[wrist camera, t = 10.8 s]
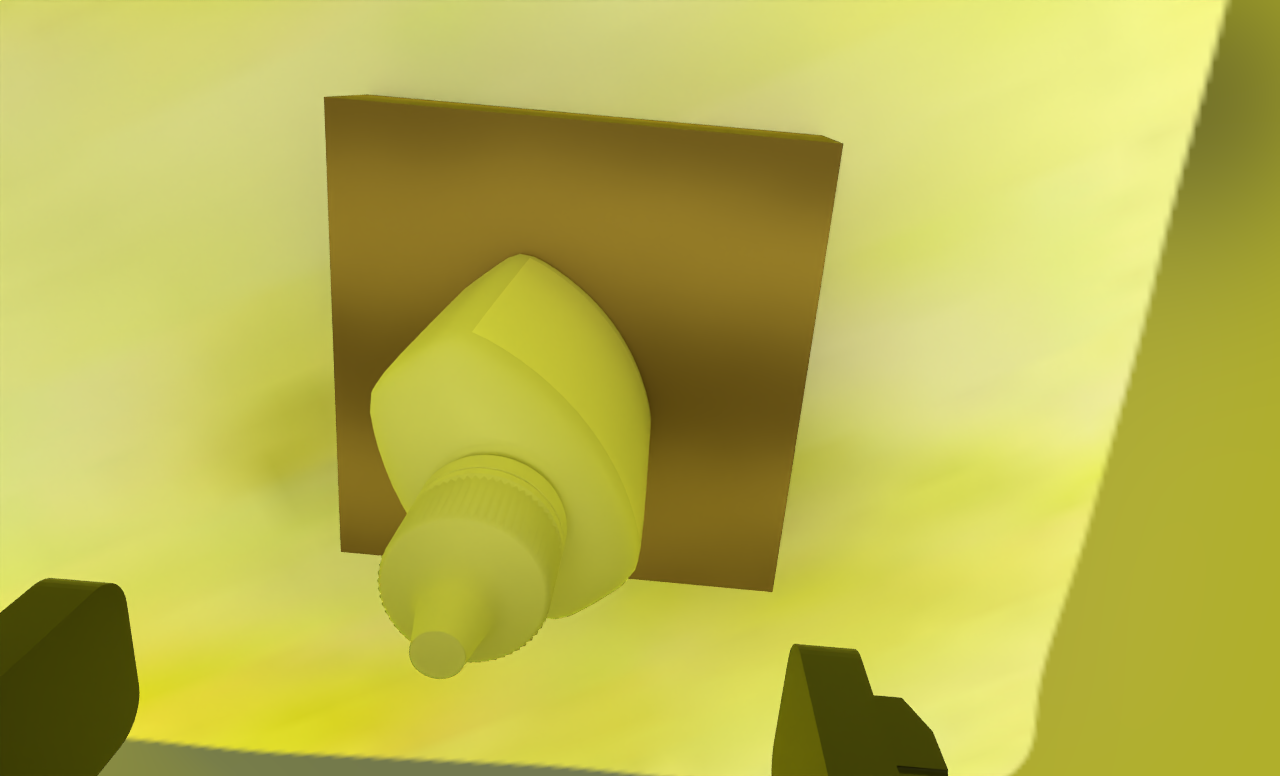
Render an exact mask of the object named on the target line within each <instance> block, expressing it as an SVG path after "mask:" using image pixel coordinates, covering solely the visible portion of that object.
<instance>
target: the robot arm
mask: <svg viewBox="0 0 1280 776" xmlns="http://www.w3.org/2000/svg"><path fill="white" fill-rule="evenodd" d="M138 703H139V683H138V676H137V669H136V662H135V656H134V649H133V642H132V635H131V629H130V622H129V615H128V608H127V602H126V597H125V595H124V592H123V591H122V589H121V588H120V587H119V586H118V585H116V584H113V583H102V582H90V581H79V580H67V579H55V578H48V579H44V580H42V581H39V582H38V583H36V584H35V585H34V586H32V587H31V588H30V589H29V590H27V591H26V592H25V593H24V594H23V595H21V596H20V597H19V598H18V599H16V600H15V601H14V602H13V603H12V604H10V605H9V606H8V607H7V608H6V609H4V610H3V611H2V612H1V613H0V776H97V775H98V774H99V773H100V771H101V770H102V769H103V768H104V766H105V765H106V764H107V763H108V762H109V760H110V759H111V758H112V757H113V755H114V754H115V753H116V752H117V750H118V749H119V748H120V747H121V745H122V744H123V743H124V741H125V739H126V738H127V736H128V734H129V732H130V730H131V728H132V725H133V723H134V720H135V717H136V713H137V709H138ZM772 776H948V769H947V766H946V764H945V761H944V759H943V756H942V754H941V751H940V749H939V746H938V744H937V741H936V739H935V736H934V734H933V732H932V730H931V729H930V728H929V727H928V726H927V725H926V724H925V723H924V722H923V721H922V719H921V718H920V717H919V716H918V715H917V714H916V713H915V712H914V711H913V710H912V708H911V707H910V706H909V705H908V704H907V703H906V702H905V701H904V700H903V699H902V698H897V697H886V696H874V695H873V693H872V690H871V686H870V683H869V680H868V677H867V674H866V671H865V668H864V665H863V662H862V659H861V657H860V654H859V652H858V651H857V650H856V649H847V648H835V647H824V646H812V645H800V644H794V645H793V646H792V648H791V650H790V654H789V658H788V664H787V669H786V675H785V681H784V687H783V693H782V699H781V704H780V710H779V716H778V722H777V728H776V734H775V739H774V746H773V755H772Z"/></svg>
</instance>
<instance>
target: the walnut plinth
mask: <svg viewBox="0 0 1280 776" xmlns="http://www.w3.org/2000/svg"><path fill="white" fill-rule="evenodd" d="M324 108H325V135H326V162H327V189H328V216H329V243H330V270H331V297H332V324H333V351H334V378H335V405H336V432H337V459H338V486H339V513H340V540H341V552H349V553H360V554H371V555H381V556H383V554H384V552H385V549H386V547H387V546H388V544H389V542H390V541H391V539H392V537H393V536H394V534H395V532H396V531H397V529H398V528H399V526H400V524H401V523H402V521H403V519H404V518H405V516H406V515H407V513H406V511H405V509H404V508H403V506H402V504H401V502H400V500H399V498H398V496H397V494H396V492H395V490H394V488H393V486H392V484H391V481H390V479H389V476H388V474H387V472H386V469H385V466H384V463H383V461H382V458H381V455H380V452H379V449H378V445H377V442H376V438H375V434H374V430H373V425H372V420H371V415H370V404H371V392H372V390H373V388H374V387H375V385H376V383H377V382H378V380H379V379H380V378H381V376H382V375H383V373H384V372H385V371H386V370H387V369H388V368H389V366H390V365H391V364H392V363H393V362H394V361H395V360H396V359H397V357H398V356H399V355H400V354H401V353H402V352H403V351H404V350H405V349H406V348H407V347H408V346H409V345H410V344H411V343H412V342H413V341H414V340H415V339H416V338H417V337H418V335H419V334H420V333H421V332H422V331H423V330H424V329H425V328H426V327H427V326H428V325H429V324H430V323H431V322H432V321H433V320H434V319H435V318H436V317H437V316H438V315H439V314H440V313H441V312H442V311H443V310H444V309H445V308H446V307H447V306H448V305H449V304H450V303H451V302H452V301H453V300H454V299H455V298H456V297H457V296H458V295H459V294H460V293H461V292H462V291H463V290H464V289H465V288H466V287H468V286H469V285H470V284H472V283H473V282H474V281H475V280H477V279H478V278H480V277H481V276H482V275H484V274H485V273H487V272H488V271H489V270H491V269H492V268H494V267H495V266H496V265H498V264H499V263H501V262H502V261H504V260H505V259H507V258H509V257H512V256H515V255H518V254H524V255H529V256H534V257H536V258H538V259H540V260H542V261H543V262H545V263H547V264H549V265H550V266H552V267H553V268H555V269H556V270H558V271H559V272H561V273H562V274H563V275H565V276H566V277H568V278H569V279H570V280H571V281H573V282H574V283H575V284H576V285H578V286H579V287H580V288H581V289H582V290H583V291H584V292H585V293H587V294H588V295H589V296H590V297H591V298H592V299H593V300H594V301H595V302H596V303H597V304H598V306H599V307H600V308H601V309H602V310H603V311H604V312H605V314H606V315H607V316H608V317H609V319H610V320H611V321H612V323H613V324H614V326H615V327H616V328H617V330H618V331H619V333H620V334H621V336H622V338H623V339H624V341H625V343H626V345H627V346H628V348H629V350H630V352H631V354H632V356H633V358H634V361H635V363H636V365H637V367H638V370H639V373H640V375H641V378H642V381H643V384H644V388H645V391H646V395H647V399H648V403H649V408H650V415H651V427H650V442H649V457H648V472H647V485H646V498H645V511H644V522H643V531H642V539H641V548H640V553H639V558H638V563H637V566H636V569H635V571H634V572H633V573H632V574H631V576H630V577H629V578H628V579H639V580H650V581H660V582H671V583H682V584H693V585H703V586H714V587H725V588H735V589H746V590H757V591H768V592H772V591H773V585H774V578H775V572H776V566H777V559H778V553H779V547H780V540H781V534H782V528H783V521H784V515H785V509H786V502H787V496H788V490H789V483H790V477H791V471H792V464H793V458H794V452H795V446H796V439H797V433H798V427H799V420H800V414H801V408H802V401H803V395H804V389H805V382H806V376H807V370H808V363H809V357H810V351H811V344H812V338H813V332H814V325H815V319H816V313H817V306H818V300H819V294H820V287H821V281H822V275H823V268H824V262H825V256H826V249H827V243H828V237H829V231H830V224H831V218H832V212H833V205H834V199H835V193H836V186H837V180H838V174H839V167H840V161H841V155H842V148H843V143H840V142H838V141H835V140H832V139H830V138H827V137H825V136H822V135H810V134H799V133H788V132H777V131H766V130H755V129H744V128H733V127H722V126H711V125H699V124H688V123H677V122H666V121H655V120H644V119H633V118H622V117H611V116H599V115H588V114H577V113H566V112H555V111H544V110H533V109H522V108H511V107H500V106H488V105H477V104H466V103H455V102H444V101H433V100H422V99H411V98H400V97H388V96H377V95H351V96H332V97H324Z"/></svg>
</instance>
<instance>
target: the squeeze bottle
mask: <svg viewBox="0 0 1280 776" xmlns="http://www.w3.org/2000/svg"><path fill="white" fill-rule="evenodd" d="M370 415H371V420H372V425H373V430H374V434H375V438H376V442H377V445H378V449H379V452H380V455H381V458H382V461H383V463H384V466H385V469H386V472H387V474H388V476H389V479H390V481H391V484H392V486H393V488H394V490H395V492H396V494H397V496H398V498H399V500H400V502H401V504H402V506H403V508H404V509H405V511H406V513H407V515H406V516H405V518H404V519H403V521H402V523H401V524H400V526H399V528H398V529H397V531H396V532H395V534H394V536H393V537H392V539H391V541H390V542H389V544H388V546H387V547H386V549H385V552H384V554H383V556H382V561H381V563H380V564H379V566H380V570H379V571H378V574H379V578H378V580H377V581H378V583H379V587H378V589H379V591H380V593H381V594H380V598H381V600H382V601H383V602H382V605H383V606H384V608H385V609H386V610H385V612H386V613H387V614H388V616H389V619H390V620H391V621H392V622H393V623H394V626H395V627H396V628H397V629H398V630H399V632H400V633H402V634H403V635H404V636H405V637H406V638H407V639H408V640H410V641H411V643H410V649H409V656H410V660H411V662H412V664H413V665H414V667H415V668H416V669H417V670H418V671H419V672H421V673H422V674H424V675H426V676H428V677H431V678H436V679H445V678H449V677H452V676H454V675H456V674H457V673H458V672H460V670H461V669H462V668H463V667H464V665H465V664H466V662H481V661H489V660H496V659H497V658H501V657H505V655H508V654H512V653H513V651H517V650H519V649H520V647H522V646H525V645H526V643H527V642H528V641H530V640H532V638H533V636H534V635H536V634H537V633H538V630H539V629H540V628H542V625H543V622H545V621H546V618H551V619H558V618H563V617H568V616H570V615H573V614H575V613H577V612H579V611H581V610H583V609H585V608H587V607H588V606H590V605H592V604H594V603H595V602H597V601H599V600H600V599H602V598H604V597H605V596H607V595H608V594H610V593H612V592H613V591H614V590H616V589H617V588H619V587H620V586H622V585H623V584H624V583H625V581H626V580H627V579H628V578H629V577H630V576H631V574H632V573H633V572H634V571H635V569H636V566H637V563H638V558H639V553H640V548H641V539H642V531H643V522H644V511H645V498H646V485H647V472H648V457H649V442H650V427H651V415H650V408H649V403H648V399H647V395H646V391H645V388H644V384H643V381H642V378H641V375H640V373H639V370H638V367H637V365H636V363H635V361H634V358H633V356H632V354H631V352H630V350H629V348H628V346H627V345H626V343H625V341H624V339H623V338H622V336H621V334H620V333H619V331H618V330H617V328H616V327H615V326H614V324H613V323H612V321H611V320H610V319H609V317H608V316H607V315H606V314H605V312H604V311H603V310H602V309H601V308H600V307H599V306H598V304H597V303H596V302H595V301H594V300H593V299H592V298H591V297H590V296H589V295H588V294H587V293H585V292H584V291H583V290H582V289H581V288H580V287H579V286H578V285H576V284H575V283H574V282H573V281H571V280H570V279H569V278H568V277H566V276H565V275H563V274H562V273H561V272H559V271H558V270H556V269H555V268H553V267H552V266H550V265H549V264H547V263H545V262H543V261H542V260H540V259H538V258H536V257H534V256H529V255H524V254H518V255H515V256H512V257H509V258H507V259H505V260H504V261H502V262H501V263H499V264H498V265H496V266H495V267H494V268H492V269H491V270H489V271H488V272H487V273H485V274H484V275H482V276H481V277H480V278H478V279H477V280H475V281H474V282H473V283H472V284H470V285H469V286H468V287H466V288H465V289H464V290H463V291H462V292H461V293H460V294H459V295H458V296H457V297H456V298H455V299H454V300H453V301H452V302H451V303H450V304H449V305H448V306H447V307H446V308H445V309H444V310H443V311H442V312H441V313H440V314H439V315H438V316H437V317H436V318H435V319H434V320H433V321H432V322H431V323H430V324H429V325H428V326H427V327H426V328H425V329H424V330H423V331H422V332H421V333H420V334H419V335H418V337H417V338H416V339H415V340H414V341H413V342H412V343H411V344H410V345H409V346H408V347H407V348H406V349H405V350H404V351H403V352H402V353H401V354H400V355H399V356H398V357H397V359H396V360H395V361H394V362H393V363H392V364H391V365H390V366H389V368H388V369H387V370H386V371H385V372H384V373H383V375H382V376H381V378H380V379H379V380H378V382H377V383H376V385H375V387H374V388H373V390H372V392H371V404H370Z"/></svg>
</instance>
